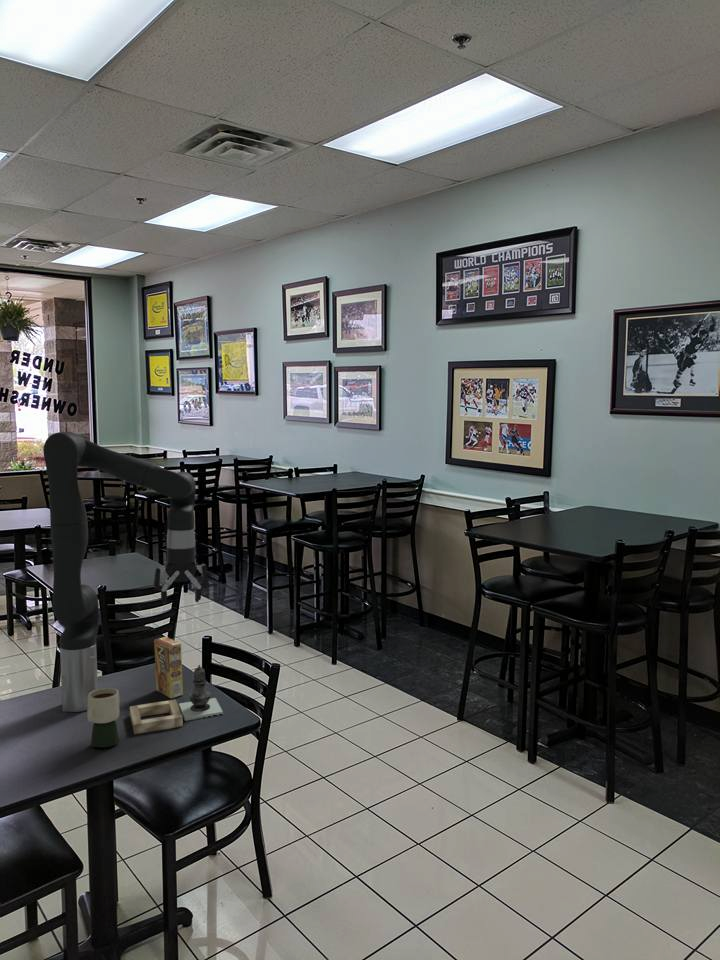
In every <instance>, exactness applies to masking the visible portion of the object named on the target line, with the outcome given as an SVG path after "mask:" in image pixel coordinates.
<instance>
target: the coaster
mask: <svg viewBox="0 0 720 960" xmlns="http://www.w3.org/2000/svg"><path fill="white" fill-rule="evenodd" d="M207 704H209V705H210V708H209V709H208V710H206V711H201V712H195V711H192V710H191V709H190V707H191V706H192V705H194V704H193V703H192V702H191V701H186V702H180V703H178V707H179V709H180V712H181V714H182V717H183V720H184V721H185V722H186V721H187V722H188V721H192V720H198V718H199V719H204V718H203V717H205V718H209V717H208V716H211V717H214V716H213V715H217V716H220V715H219V714H223V715H224V711H223V709H222V708H221V705H220V703H219V702H218V700H217V698H216V697H212V698H211V697H210V699H209V701H208V702H207Z"/></svg>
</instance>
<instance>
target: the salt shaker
mask: <svg viewBox="0 0 720 960" xmlns="http://www.w3.org/2000/svg"><path fill="white" fill-rule="evenodd" d="M192 683H193V692H191V693H189V694H188V697H189V700H190V702H192V703H193V704H194V705H192V706H191V707H190V709H191V710H192V711H195V712H201V711H206V710H208V709H209V708H210V705H209V704H207V702H208V701H209V699H211V696H212V693H211V691H209V690H207V689H206V688H207V687H206V683H207V679H206V670H205V669H204V667H201V664H198V665H197V667H196V668H195V669H194V670H193V681H192Z"/></svg>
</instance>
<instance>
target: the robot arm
mask: <svg viewBox="0 0 720 960" xmlns="http://www.w3.org/2000/svg"><path fill="white" fill-rule="evenodd" d="M42 450H43V458H44V465H45V469H46V475H47V481H48V489H49V492H48V493H49V496H48V497H49V500H48V501H49V515H50V516H49V520H50V523H49V525H50V539H51V546H52V547H51V548H52V564H53V565H52V566H53V567H52V568H53V583H52V584H53V585H52V611H53V615H54V617H55V618H56V619H57V621H58V622H59V623H60V624H63V625H65V627H64V629H63V632H62V633H61V635H60V637H59V651H60V652H59V653H60V654H59V655H60V681H61V684H60V685H61V688H60V689H61V708H62V711H61V712H63V713H65V712H70V713H74V712H75V713H78V712H84V711H87V710H88V694H89V693H90V692H91V691H93V690H96V689H99V684H98V683H99V682H98V659H97V656H98V655H97V635H98V633H99V627H100V626H99V625H100V623H99V621H100V620H99V619H100V618H99V616H100V615H99V613H100V611H99V610H100V609H99V607H100V606H99V599H98V595H97V592H96V591H95V590H94V589H93V587H91V586H90V585H88V584H82V581H81V580H82V576H81V573H82V567H83V566H82V565H83V562H84V558H85V555H86V551H87V547H88V545H89V544H88V543H89V525H88V523H89V522H88V515H87V509H86V506H85V502H84V500H83V498H82V497H83V496H82V495H81V491H80V489H79V482H78V480H79V479H78V467H79V466H80V467H86V468H92V469H95V470H98V471H101V472H104V473H106V474H108V475H111V476H113V477H114V478H117V479H119V480H122V481H123V482H126V483H129V484H131V485H135V486H138V487H141V488H145V489H149V490H152V491H154V492H156V493H159V494H160V495H163V496H164V497H168V498H169V499H170V502H169V504H170V505H169V509H168V512H167V534H166V566H165V567H159V566H155V567H154V573H153V574H154V575H153V577H154V579H153V588H154V590H156V591H159V592H160V600H161V603H162V604H163V605H164V606H166V605H168V591H167V590H168V589H169V588H170V587H171V585H172V584H173V583H181V582H183V583H186V582H189V581H191V583H192V584H193V585H194V586H195V587H194V602H195V603H199V601H200V600H201V599H202V588H204V587H207V586H208V585H209V583H208V581H209V580H208V567H207V564H205V563H202V564H198V565H196V534H195V511H194V510H195V509H194V508H195V500H196V486H197V485H196V480H195V478H194V476H193V475H192V474H190V473H189V472H186V471H178V472H176V471H172V470H169V469H166V468H164V467H163V468H162V467H161V466H160V465H158V464H156V463H153V462H151V461H148V460H144V459H142V458H137V457H135V456H131V455H127V454H125V453H121V452H118V451H115V450H112V449H109V448H105V447H104V446H101V445H99V444H97V443H95V442H93V441H91V440H90V439H89V440H88V439H86V438H84V437H82V436H81V435H78V433H75V432H71V431H62V432H61V431H60V432H54V433H52V434H50V436H48V437H47V438H46V440H45V442H44V445H43V449H42ZM197 570H198V572H199V573H200V574H201V581H200V582H199V581H198V580H197V579H196V577H195V576H194V575H195V573H196V571H197ZM164 572H165V573H166V574H167V577H166V578H165V580H164V582H163V583H162V584H160V583H161V576H163V574H164Z"/></svg>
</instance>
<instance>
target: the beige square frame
mask: <svg viewBox="0 0 720 960" xmlns="http://www.w3.org/2000/svg"><path fill="white" fill-rule="evenodd" d="M167 713H169V715H166V716H160V717H153V718H146V719H141V718H142V717H148V716H155V715H161V714H167ZM129 717H130V718H129V719H130V722H131V728H132V730H133V731H132V732H133V734H134V735H138V734H143V733H144V734H145V733H150V732H156V731H161V730H162V731H163V730H169V729H173V728H181V727H183V726H184V724H183V723H184V722H183V720H184V717H183V715H182V712H181V710H180V707H179V703H178V702H177V699H175V698H174V699H170V700H165V701H163V700H162V701H155V702H150V703H144V704H137V705H131V706H129Z"/></svg>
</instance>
